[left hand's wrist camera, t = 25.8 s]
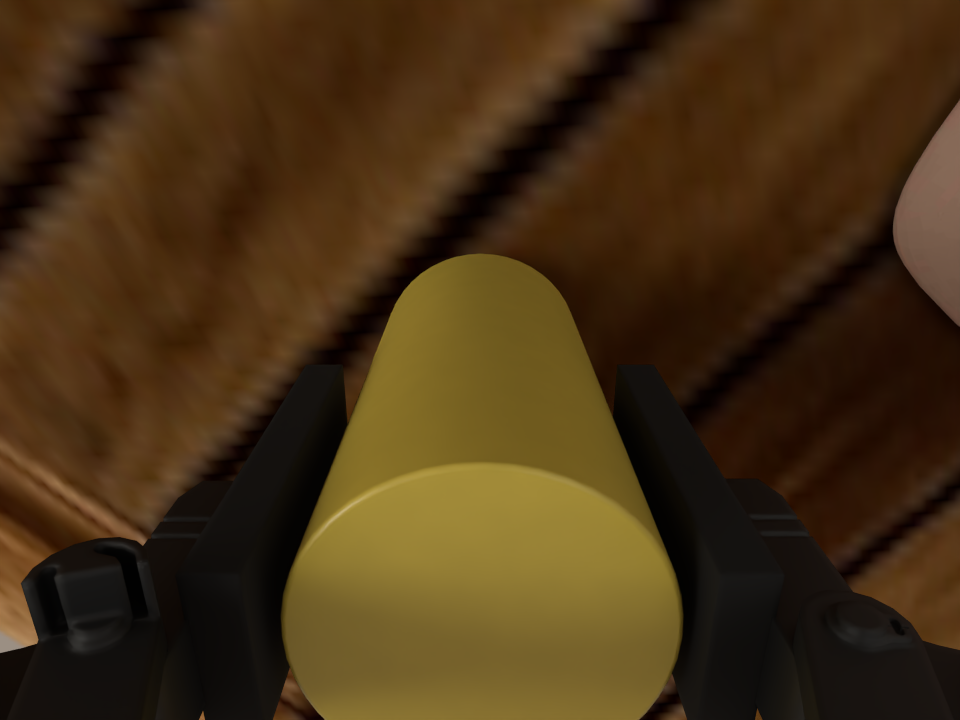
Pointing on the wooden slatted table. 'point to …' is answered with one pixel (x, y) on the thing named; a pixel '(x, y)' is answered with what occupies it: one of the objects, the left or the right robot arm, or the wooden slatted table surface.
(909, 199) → the anatomical model
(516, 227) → the wooden slatted table surface
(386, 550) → the cylinder
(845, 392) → the wooden slatted table surface
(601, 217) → the wooden slatted table surface
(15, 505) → the wooden slatted table surface
